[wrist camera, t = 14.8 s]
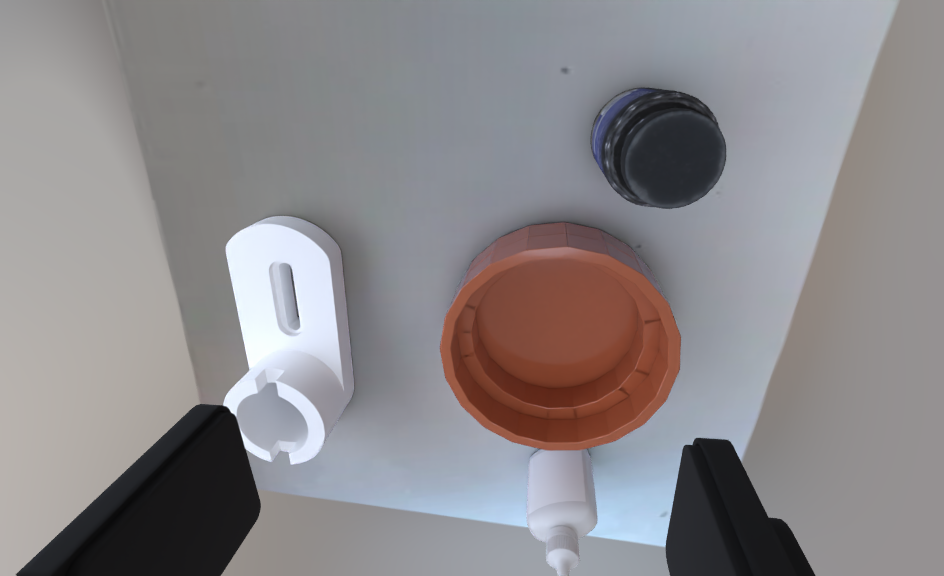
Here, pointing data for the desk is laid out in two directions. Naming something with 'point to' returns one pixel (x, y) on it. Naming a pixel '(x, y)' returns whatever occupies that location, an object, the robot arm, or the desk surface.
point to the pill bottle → (658, 147)
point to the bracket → (290, 337)
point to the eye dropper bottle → (561, 504)
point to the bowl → (560, 338)
